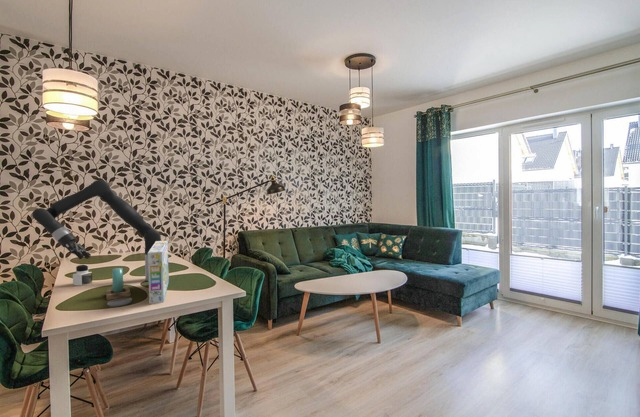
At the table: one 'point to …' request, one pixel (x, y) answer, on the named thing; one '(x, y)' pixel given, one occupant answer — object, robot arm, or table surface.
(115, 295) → the pocket block
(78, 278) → the medicine bottle
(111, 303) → the coaster
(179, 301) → the table surface
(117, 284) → the tall teal cylinder
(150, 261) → the game box
